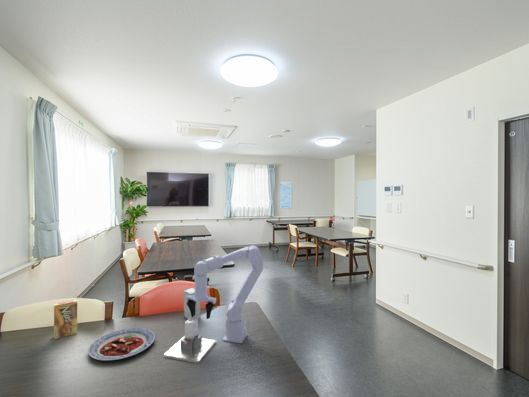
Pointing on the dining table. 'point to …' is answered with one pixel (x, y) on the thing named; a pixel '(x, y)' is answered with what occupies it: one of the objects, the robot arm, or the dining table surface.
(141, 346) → the ceramic plate
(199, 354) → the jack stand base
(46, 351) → the dining table surface
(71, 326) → the candy box
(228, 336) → the robot arm
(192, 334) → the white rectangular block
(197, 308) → the skincare box
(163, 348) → the dining table surface
